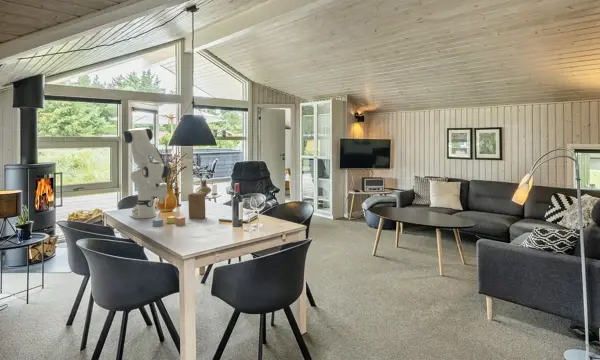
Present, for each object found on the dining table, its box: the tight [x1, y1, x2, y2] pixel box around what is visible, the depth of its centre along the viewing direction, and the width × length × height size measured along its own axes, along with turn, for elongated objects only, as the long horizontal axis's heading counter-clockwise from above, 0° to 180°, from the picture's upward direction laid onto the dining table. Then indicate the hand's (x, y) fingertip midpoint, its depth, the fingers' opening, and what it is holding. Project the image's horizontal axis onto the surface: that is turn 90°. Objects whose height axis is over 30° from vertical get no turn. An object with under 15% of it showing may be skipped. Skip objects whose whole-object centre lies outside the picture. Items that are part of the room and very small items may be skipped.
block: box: [187, 192, 206, 220], centre depth 296 cm, size 10×10×20 cm
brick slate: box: [152, 218, 164, 227], centre depth 269 cm, size 5×5×5 cm
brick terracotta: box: [174, 216, 186, 225], centre depth 272 cm, size 5×5×5 cm
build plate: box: [169, 222, 192, 228], centre depth 272 cm, size 12×12×1 cm
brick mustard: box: [166, 215, 177, 224], centre depth 279 cm, size 5×5×5 cm
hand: (156, 202), depth 267 cm, fingers open, 8 cm apart
